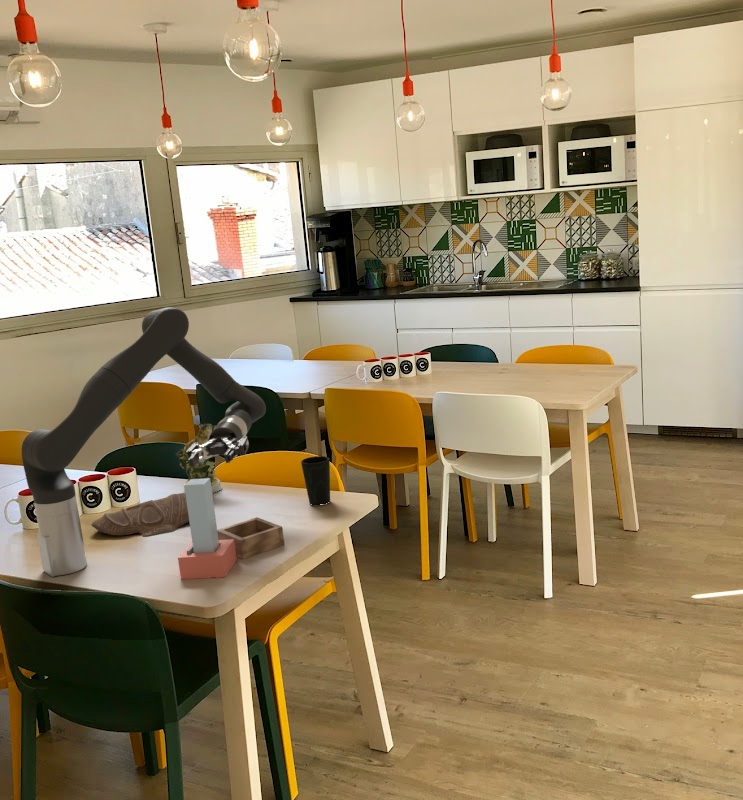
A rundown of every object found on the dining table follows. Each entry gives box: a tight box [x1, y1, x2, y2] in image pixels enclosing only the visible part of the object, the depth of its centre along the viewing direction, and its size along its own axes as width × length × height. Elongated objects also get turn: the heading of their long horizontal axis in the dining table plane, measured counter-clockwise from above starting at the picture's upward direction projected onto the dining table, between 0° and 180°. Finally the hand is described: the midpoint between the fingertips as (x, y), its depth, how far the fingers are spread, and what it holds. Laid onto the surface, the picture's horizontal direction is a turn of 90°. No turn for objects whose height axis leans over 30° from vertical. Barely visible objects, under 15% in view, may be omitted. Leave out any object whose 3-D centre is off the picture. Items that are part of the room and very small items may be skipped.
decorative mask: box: [91, 492, 190, 538], centre depth 242 cm, size 23×7×30 cm
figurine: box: [175, 423, 223, 494], centre depth 267 cm, size 12×14×20 cm
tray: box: [217, 516, 285, 560], centre depth 216 cm, size 11×11×4 cm
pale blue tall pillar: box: [183, 478, 219, 553], centre depth 203 cm, size 4×4×20 cm
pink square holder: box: [177, 539, 238, 580], centre depth 204 cm, size 10×10×6 cm
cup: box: [300, 455, 331, 505], centre depth 245 cm, size 8×8×12 cm
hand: (209, 461), depth 212 cm, fingers open, 8 cm apart
